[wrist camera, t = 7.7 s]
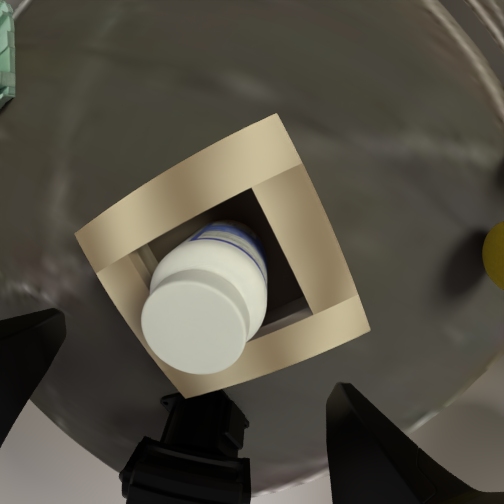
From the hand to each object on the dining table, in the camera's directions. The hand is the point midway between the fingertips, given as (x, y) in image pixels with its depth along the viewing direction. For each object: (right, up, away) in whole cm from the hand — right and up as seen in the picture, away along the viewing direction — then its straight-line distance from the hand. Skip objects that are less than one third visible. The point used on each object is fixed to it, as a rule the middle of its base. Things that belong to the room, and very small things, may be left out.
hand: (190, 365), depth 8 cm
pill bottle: (0, +3, +11) cm, 12 cm away
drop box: (0, +3, +12) cm, 12 cm away
